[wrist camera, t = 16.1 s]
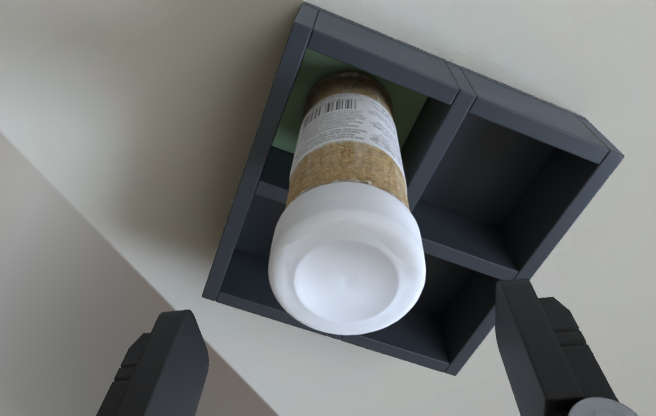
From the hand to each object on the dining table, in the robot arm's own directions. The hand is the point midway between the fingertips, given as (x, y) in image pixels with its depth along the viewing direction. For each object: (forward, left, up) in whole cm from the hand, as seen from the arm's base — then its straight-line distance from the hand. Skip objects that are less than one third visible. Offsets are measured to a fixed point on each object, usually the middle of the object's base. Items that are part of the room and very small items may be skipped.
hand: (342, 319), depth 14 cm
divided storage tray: (+4, -3, -15) cm, 16 cm away
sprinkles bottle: (0, 0, -15) cm, 15 cm away
